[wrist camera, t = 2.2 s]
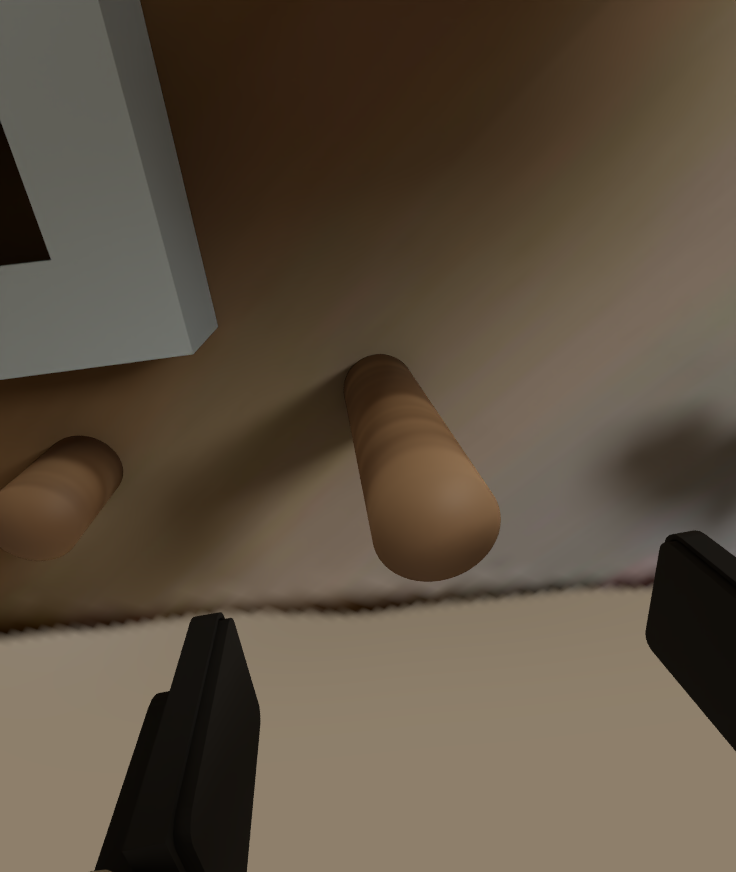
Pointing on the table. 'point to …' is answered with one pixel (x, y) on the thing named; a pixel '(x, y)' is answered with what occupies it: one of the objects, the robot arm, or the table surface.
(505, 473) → the table surface
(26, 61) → the hole block
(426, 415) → the long dowel
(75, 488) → the short dowel
